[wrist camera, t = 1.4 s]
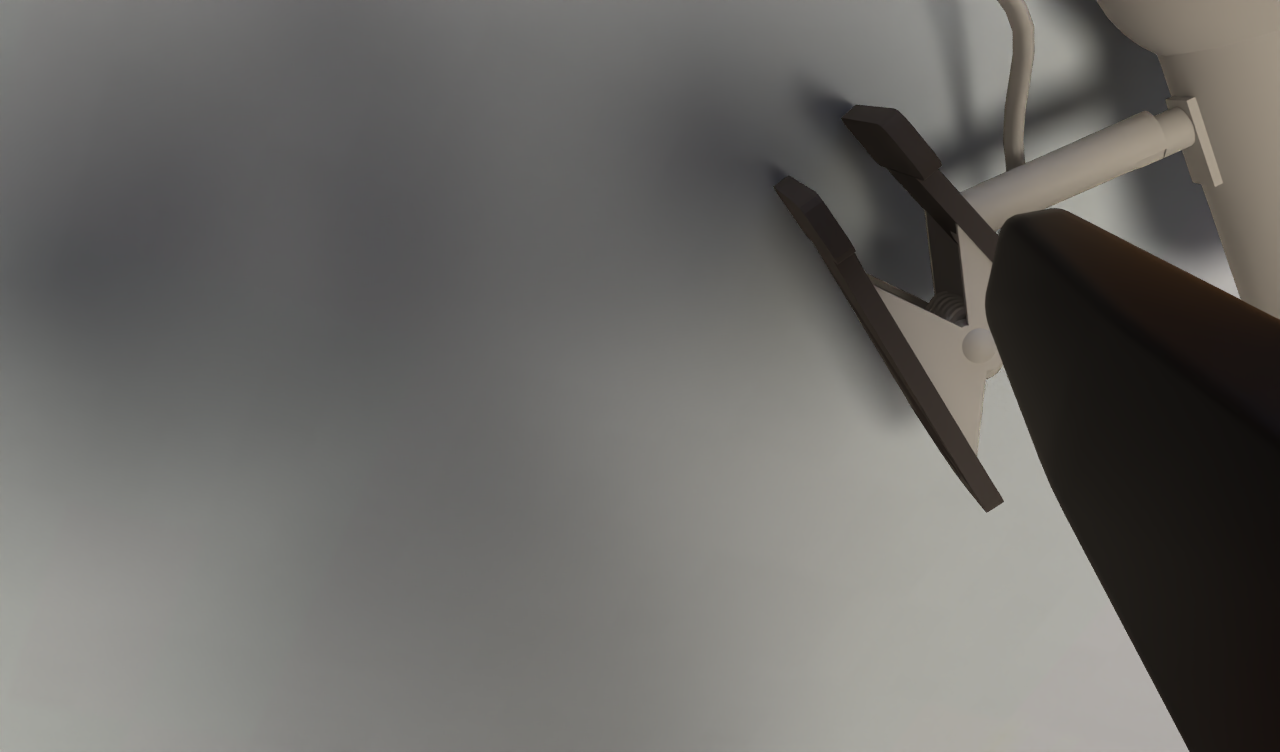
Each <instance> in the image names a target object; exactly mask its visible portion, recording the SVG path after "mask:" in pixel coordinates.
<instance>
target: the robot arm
mask: <svg viewBox="0 0 1280 752" xmlns="http://www.w3.org/2000/svg"><path fill="white" fill-rule="evenodd" d="M985 313H986V318H987V323H988V326H989V329H990V331H991V334H992V337H993V339H994V342H995V345H996V347H997V350H998V352H999V355H1000V358H1001V360H1002V363H1003V365H1004V368H1005V371H1006V373H1007V376H1008V378H1009V381H1010V384H1011V386H1012V389H1013V392H1014V394H1015V397H1016V399H1017V402H1018V405H1019V407H1020V410H1021V412H1022V415H1023V418H1024V420H1025V423H1026V426H1027V428H1028V431H1029V433H1030V436H1031V439H1032V441H1033V444H1034V446H1035V449H1036V452H1037V454H1038V457H1039V459H1040V462H1041V464H1042V467H1043V469H1044V471H1045V474H1046V476H1047V479H1048V481H1049V483H1050V486H1051V488H1052V490H1053V492H1054V494H1055V496H1056V498H1057V500H1058V502H1059V504H1060V506H1061V508H1062V510H1063V512H1064V514H1065V516H1066V518H1067V520H1068V522H1069V523H1070V525H1071V527H1072V529H1073V531H1074V533H1075V535H1076V537H1077V539H1078V541H1079V542H1080V544H1081V546H1082V548H1083V550H1084V552H1085V554H1086V556H1087V558H1088V560H1089V561H1090V563H1091V565H1092V567H1093V569H1094V571H1095V573H1096V575H1097V577H1098V579H1099V580H1100V582H1101V584H1102V586H1103V588H1104V590H1105V592H1106V594H1107V596H1108V598H1109V599H1110V601H1111V603H1112V605H1113V607H1114V609H1115V611H1116V613H1117V615H1118V617H1119V618H1120V620H1121V622H1122V624H1123V626H1124V628H1125V630H1126V632H1127V634H1128V636H1129V637H1130V639H1131V641H1132V643H1133V645H1134V647H1135V649H1136V651H1137V653H1138V655H1139V656H1140V658H1141V660H1142V662H1143V664H1144V666H1145V668H1146V670H1147V672H1148V674H1149V675H1150V677H1151V679H1152V681H1153V683H1154V685H1155V687H1156V689H1157V691H1158V693H1159V694H1160V696H1161V698H1162V700H1163V702H1164V704H1165V706H1166V708H1167V710H1168V712H1169V713H1170V715H1171V717H1172V719H1173V721H1174V723H1175V725H1176V727H1177V729H1178V731H1179V732H1180V734H1181V736H1182V738H1183V740H1184V742H1185V744H1186V746H1187V748H1188V750H1189V751H1190V752H1280V319H1278V318H1276V317H1274V316H1272V315H1270V314H1268V313H1266V312H1264V311H1262V310H1260V309H1258V308H1256V307H1254V306H1252V305H1250V304H1248V303H1246V302H1244V301H1242V300H1240V299H1238V298H1237V297H1235V296H1233V295H1231V294H1229V293H1227V292H1225V291H1223V290H1221V289H1219V288H1217V287H1215V286H1213V285H1211V284H1209V283H1207V282H1205V281H1203V280H1201V279H1199V278H1197V277H1195V276H1193V275H1192V274H1190V273H1188V272H1186V271H1184V270H1182V269H1180V268H1178V267H1176V266H1174V265H1172V264H1170V263H1168V262H1166V261H1164V260H1162V259H1160V258H1158V257H1156V256H1154V255H1152V254H1150V253H1148V252H1147V251H1145V250H1143V249H1141V248H1139V247H1137V246H1135V245H1133V244H1131V243H1129V242H1127V241H1125V240H1123V239H1121V238H1119V237H1117V236H1115V235H1113V234H1111V233H1109V232H1107V231H1105V230H1103V229H1101V228H1100V227H1098V226H1096V225H1094V224H1092V223H1090V222H1088V221H1086V220H1084V219H1082V218H1080V217H1078V216H1076V215H1074V214H1072V213H1070V212H1068V211H1065V210H1063V209H1059V208H1050V209H1044V210H1039V211H1033V212H1027V213H1022V214H1016V215H1014V216H1012V217H1010V218H1008V219H1007V220H1006V221H1005V223H1004V224H1003V226H1002V227H1001V230H1000V233H999V237H998V242H997V246H996V250H995V255H994V259H993V263H992V268H991V272H990V276H989V281H988V285H987V289H986V295H985Z"/></svg>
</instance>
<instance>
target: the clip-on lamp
mask: <svg viewBox="0 0 1280 752" xmlns="http://www.w3.org/2000/svg"><path fill="white" fill-rule="evenodd" d="M997 1H998V2H999V3H1000V5H1001V6H1002V8H1003V9H1004V11H1005V12H1006V14H1007V17H1008V20H1009V23H1010V25H1011V28H1012V31H1013V56H1012V63H1011V69H1010V76H1009V83H1008V89H1007V96H1006V102H1005V109H1004V130H1003V145H1004V154H1005V163H1006V172H1005V173H1003V174H1000V175H998V176H996V177H994V178H991V179H989V180H987V181H985V182H982V183H980V184H978V185H976V186H973V187H971V188H969V189H967V190H964V191H962V192H959V191H958V190H957V189H956V188H955V187H954V186H953V185H952V184H951V183H950V181H949V180H948V179H947V178H946V177H945V176H944V175H943V174H942V173H941V171H940V170H939V168H940V167H941V166H942V163H941V161H940V160H939V158H938V157H937V156H936V154H935V153H934V152H933V150H932V149H931V148H930V147H929V145H928V144H927V143H926V142H925V141H924V139H923V138H922V137H921V136H920V134H919V133H918V132H917V131H916V129H915V128H914V127H913V126H912V125H911V123H910V122H909V121H908V120H907V119H906V118H905V117H904V116H903V115H902V114H901V113H900V112H899V111H898V110H896V109H893V108H884V107H874V106H865V105H855V106H854V107H853V108H852V109H851V110H849V111H848V112H847V113H846V114H845V115H844V116H843V117H841V119H842V121H843V123H844V124H845V125H846V127H847V128H848V129H849V130H850V132H851V133H852V134H853V135H854V136H855V138H856V139H857V140H858V141H859V142H860V144H861V145H862V146H863V147H864V149H865V150H866V151H867V152H868V153H869V155H870V156H871V157H872V158H873V159H874V160H875V161H876V162H877V163H878V164H879V165H880V166H882V167H885V168H887V170H888V171H889V172H890V173H891V174H892V175H893V176H894V177H895V178H896V179H897V181H898V182H899V183H900V184H901V185H902V186H903V187H904V188H905V189H906V190H907V191H908V193H909V194H910V195H911V196H912V197H913V198H914V199H915V200H916V201H917V202H918V204H919V205H920V206H921V207H922V208H923V209H924V212H925V220H926V229H927V237H928V245H929V254H930V262H931V270H932V279H933V287H934V297H933V298H932V299H931V300H930V302H929V303H928V302H926V301H924V300H922V299H920V298H918V297H916V296H914V295H911V294H909V293H907V292H905V291H903V290H901V289H899V288H897V287H895V286H892V285H890V284H888V283H886V282H884V281H882V280H880V279H878V278H876V277H873V276H871V275H869V274H867V273H866V272H865V270H864V269H863V267H862V265H861V264H860V262H859V260H858V259H857V257H856V255H855V254H854V253H855V252H856V250H855V248H854V247H853V245H852V243H851V242H850V240H849V239H848V237H847V236H846V234H845V233H844V231H843V230H842V228H841V227H840V225H839V224H838V222H837V221H836V219H835V218H834V217H833V215H832V214H831V212H830V211H829V209H828V208H827V206H826V205H825V203H824V202H823V201H822V199H821V198H820V197H819V195H818V194H817V193H816V192H815V191H813V190H812V189H810V188H808V187H807V186H805V185H804V184H802V183H800V182H799V181H797V180H795V179H794V178H792V177H791V176H787V177H786V178H784V179H783V180H782V181H780V182H779V183H777V184H776V185H774V186H773V188H774V189H775V191H776V192H777V194H778V195H779V197H780V198H781V200H782V201H783V203H784V204H785V206H786V207H787V209H788V210H789V212H790V213H791V215H792V216H793V218H794V219H795V220H796V222H797V223H798V225H799V226H800V228H801V229H802V230H803V232H804V233H805V235H806V236H807V237H808V238H809V239H810V240H811V241H812V242H813V244H814V245H815V247H816V249H817V250H818V252H819V254H820V255H821V257H822V259H823V260H824V262H825V264H826V265H827V267H828V269H829V270H830V272H831V274H832V275H833V277H834V279H835V280H836V282H837V284H838V285H839V287H840V289H841V290H842V292H843V294H844V295H845V297H846V299H847V300H848V302H849V304H850V305H851V307H852V309H853V310H854V312H855V314H856V315H857V317H858V319H859V320H860V322H861V324H862V325H863V327H864V329H865V330H866V332H867V334H868V335H869V337H870V339H871V340H872V342H873V344H874V345H875V347H876V349H877V350H878V352H879V354H880V355H881V357H882V359H883V360H884V362H885V364H886V365H887V367H888V369H889V370H890V372H891V374H892V375H893V377H894V379H895V380H896V382H897V384H898V385H899V387H900V389H901V390H902V392H903V394H904V395H905V397H906V399H907V400H908V402H909V404H910V405H911V407H912V409H913V410H914V412H915V414H916V415H917V417H918V418H919V420H920V421H921V423H922V424H923V426H924V427H925V429H926V430H927V432H928V434H929V435H930V437H931V438H932V440H933V441H934V443H935V444H936V446H937V447H938V449H939V450H940V452H941V454H942V455H943V456H944V458H945V459H946V461H947V462H948V464H949V465H950V466H951V468H952V469H953V471H954V472H955V473H956V475H957V476H958V478H959V479H960V480H961V482H962V483H963V484H964V486H965V487H966V488H967V489H968V491H969V492H970V493H971V494H972V496H973V497H974V498H975V499H976V501H977V502H978V503H979V504H980V505H981V507H982V508H983V509H984V510H985V511H986V512H989V511H990V510H992V509H993V508H995V507H997V506H998V505H1000V504H1001V503H1003V502H1004V501H1003V499H1002V497H1001V495H1000V494H999V492H998V491H997V489H996V488H995V486H994V484H993V483H992V481H991V479H990V478H989V476H988V474H987V473H986V471H985V469H984V468H983V466H982V464H981V463H980V461H979V459H978V458H977V452H978V443H979V434H980V426H981V417H982V408H983V399H984V390H985V382H986V379H988V378H991V377H993V376H994V375H995V374H996V373H998V371H999V370H1000V369H1001V367H1002V365H1003V363H1002V360H1001V358H1000V355H999V352H998V350H997V347H996V345H995V342H994V339H993V337H992V334H991V331H990V329H989V326H988V323H987V318H986V313H985V295H986V289H987V285H988V281H989V276H990V272H991V268H992V263H993V259H994V255H995V250H996V246H997V242H998V237H999V236H998V235H997V234H996V232H995V230H997V229H1000V228H1001V227H1002V226H1003V224H1004V223H1005V221H1006V220H1007V219H1008V218H1010V217H1012V216H1014V215H1016V214H1022V213H1027V212H1033V211H1039V210H1043V209H1045V208H1048V207H1050V206H1052V205H1055V204H1057V203H1059V202H1061V201H1064V200H1066V199H1068V198H1070V197H1073V196H1075V195H1077V194H1080V193H1082V192H1084V191H1086V190H1089V189H1091V188H1093V187H1096V186H1098V185H1100V184H1102V183H1105V182H1107V181H1109V180H1112V179H1114V178H1116V177H1118V176H1121V175H1123V174H1125V173H1128V172H1133V170H1134V169H1139V168H1142V167H1144V166H1146V165H1149V164H1151V163H1153V162H1156V161H1158V160H1160V159H1163V158H1165V157H1167V156H1169V155H1172V154H1174V153H1176V152H1179V151H1181V150H1182V152H1183V155H1184V158H1185V161H1186V164H1187V167H1188V170H1189V173H1190V176H1191V179H1192V182H1193V183H1198V184H1202V187H1203V190H1204V193H1205V196H1206V199H1207V202H1208V205H1209V208H1210V211H1211V214H1212V217H1213V220H1214V222H1215V225H1216V228H1217V231H1218V234H1219V237H1220V240H1221V243H1222V246H1223V249H1224V252H1225V255H1226V258H1227V260H1228V263H1229V266H1230V269H1231V272H1232V275H1233V278H1234V281H1235V284H1236V287H1237V290H1238V293H1239V295H1240V298H1241V300H1242V301H1244V302H1246V303H1248V304H1250V305H1252V306H1254V307H1256V308H1258V309H1260V310H1262V311H1264V312H1266V313H1268V314H1270V315H1272V316H1274V317H1276V318H1278V319H1280V0H1096V1H1097V2H1098V4H1099V5H1100V7H1101V8H1102V10H1103V11H1104V13H1105V14H1106V16H1107V17H1108V19H1109V20H1110V21H1111V22H1112V23H1113V24H1114V25H1115V26H1116V27H1117V28H1118V29H1119V30H1120V31H1121V32H1122V33H1123V34H1124V35H1125V36H1127V37H1128V38H1129V39H1131V40H1132V41H1134V42H1135V43H1136V44H1138V45H1139V46H1140V47H1142V48H1145V49H1147V50H1149V51H1151V52H1153V53H1155V54H1157V56H1158V59H1159V62H1160V65H1161V68H1162V70H1163V73H1164V76H1165V79H1166V82H1167V85H1168V88H1169V91H1170V94H1171V97H1170V98H1168V99H1165V101H1166V104H1167V107H1168V110H1167V111H1164V112H1162V113H1160V114H1158V115H1155V116H1153V115H1152V114H1151V113H1150V112H1148V111H1143V112H1140V113H1138V114H1136V115H1134V116H1131V117H1129V118H1127V119H1125V120H1122V121H1120V122H1118V123H1116V124H1113V125H1111V126H1109V127H1106V128H1104V129H1102V130H1100V131H1097V132H1095V133H1093V134H1091V135H1088V136H1086V137H1084V138H1082V139H1079V140H1077V141H1075V142H1073V143H1070V144H1068V145H1066V146H1064V147H1061V148H1059V149H1057V150H1055V151H1052V152H1050V153H1048V154H1046V155H1043V156H1041V157H1039V158H1037V159H1034V160H1032V161H1030V162H1028V163H1025V157H1024V144H1023V138H1024V124H1025V111H1026V105H1027V98H1028V92H1029V86H1030V80H1031V73H1032V66H1033V59H1034V24H1033V22H1032V19H1031V16H1030V13H1029V10H1028V7H1027V5H1026V3H1025V1H1024V0H997Z"/></svg>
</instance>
